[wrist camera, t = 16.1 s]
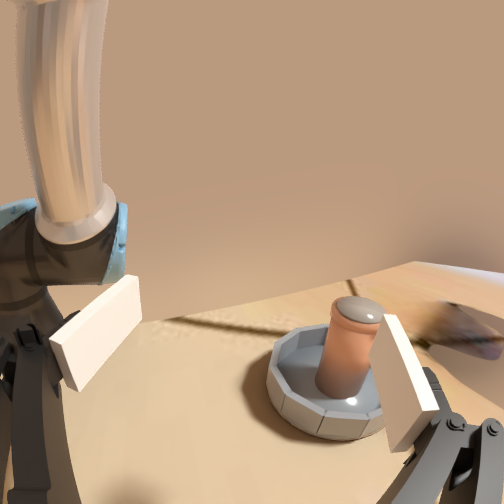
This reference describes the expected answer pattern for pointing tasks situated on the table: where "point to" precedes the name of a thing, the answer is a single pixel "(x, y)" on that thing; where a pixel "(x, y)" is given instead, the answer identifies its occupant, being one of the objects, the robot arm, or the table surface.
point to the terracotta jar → (348, 346)
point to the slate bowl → (318, 391)
